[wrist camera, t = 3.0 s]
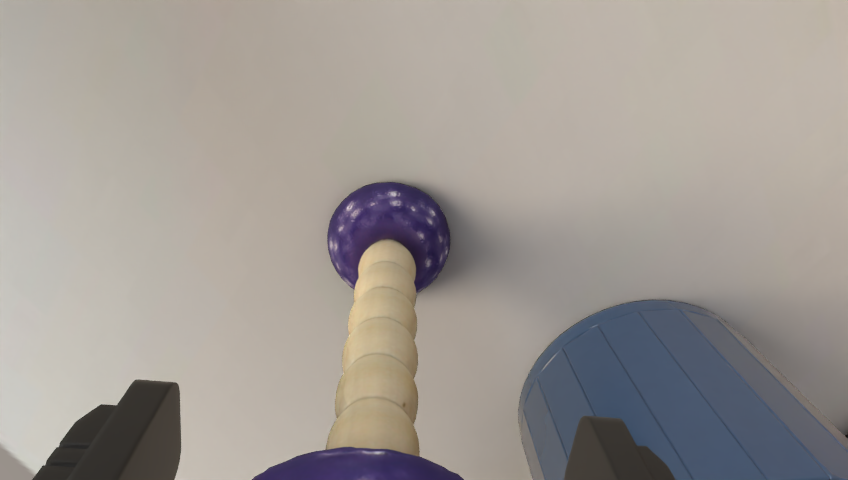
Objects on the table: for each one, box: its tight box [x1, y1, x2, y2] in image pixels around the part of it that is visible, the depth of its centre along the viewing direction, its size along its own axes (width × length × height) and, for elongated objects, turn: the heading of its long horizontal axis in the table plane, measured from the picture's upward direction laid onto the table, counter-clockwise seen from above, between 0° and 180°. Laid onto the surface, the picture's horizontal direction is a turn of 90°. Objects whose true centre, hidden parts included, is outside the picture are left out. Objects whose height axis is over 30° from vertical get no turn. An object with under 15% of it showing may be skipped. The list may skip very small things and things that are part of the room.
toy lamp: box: [252, 182, 464, 480], centre depth 13 cm, size 5×5×17 cm
